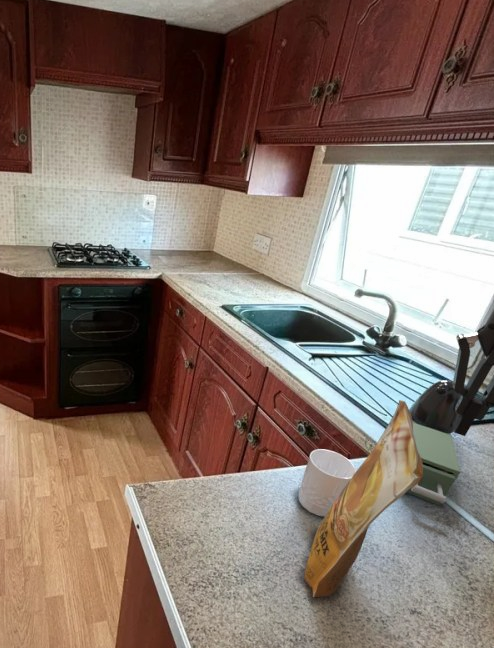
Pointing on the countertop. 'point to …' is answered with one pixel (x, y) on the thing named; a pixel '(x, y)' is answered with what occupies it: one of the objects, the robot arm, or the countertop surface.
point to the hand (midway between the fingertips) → (458, 430)
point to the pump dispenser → (436, 407)
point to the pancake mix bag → (364, 503)
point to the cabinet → (436, 449)
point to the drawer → (433, 484)
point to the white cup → (324, 480)
